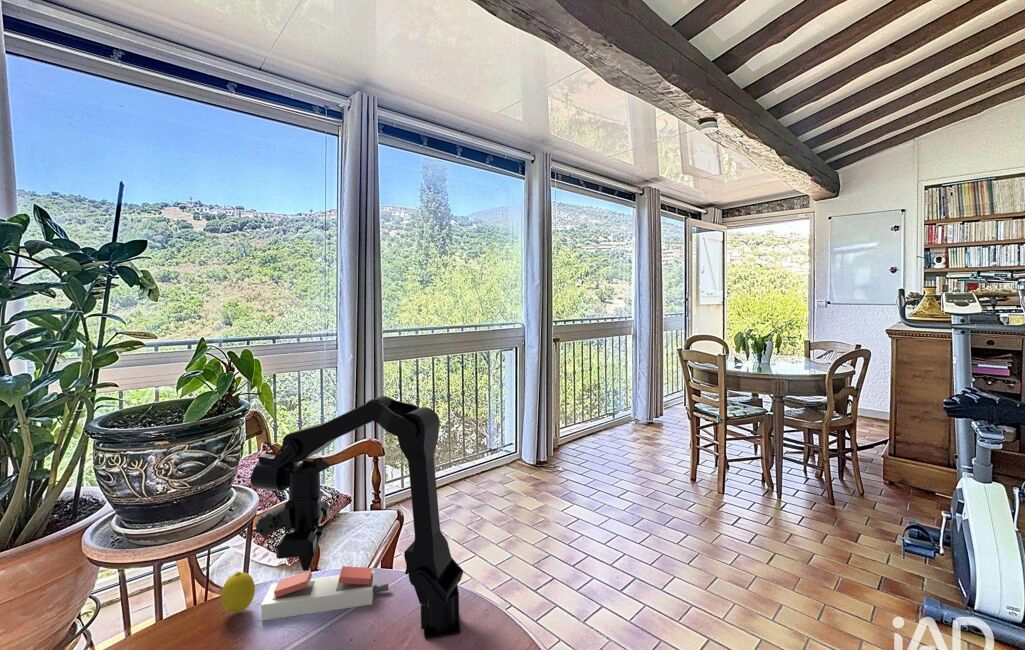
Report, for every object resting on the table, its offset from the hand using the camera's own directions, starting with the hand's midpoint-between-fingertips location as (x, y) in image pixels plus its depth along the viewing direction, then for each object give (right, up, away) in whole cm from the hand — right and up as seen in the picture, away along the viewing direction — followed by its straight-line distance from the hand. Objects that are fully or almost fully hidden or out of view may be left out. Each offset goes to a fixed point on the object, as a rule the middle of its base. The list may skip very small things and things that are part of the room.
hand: (306, 569), depth 91 cm
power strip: (+4, -7, +1) cm, 8 cm away
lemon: (-12, -7, -3) cm, 14 cm away
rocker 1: (-2, -3, 0) cm, 4 cm away
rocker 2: (+9, -3, +2) cm, 10 cm away
